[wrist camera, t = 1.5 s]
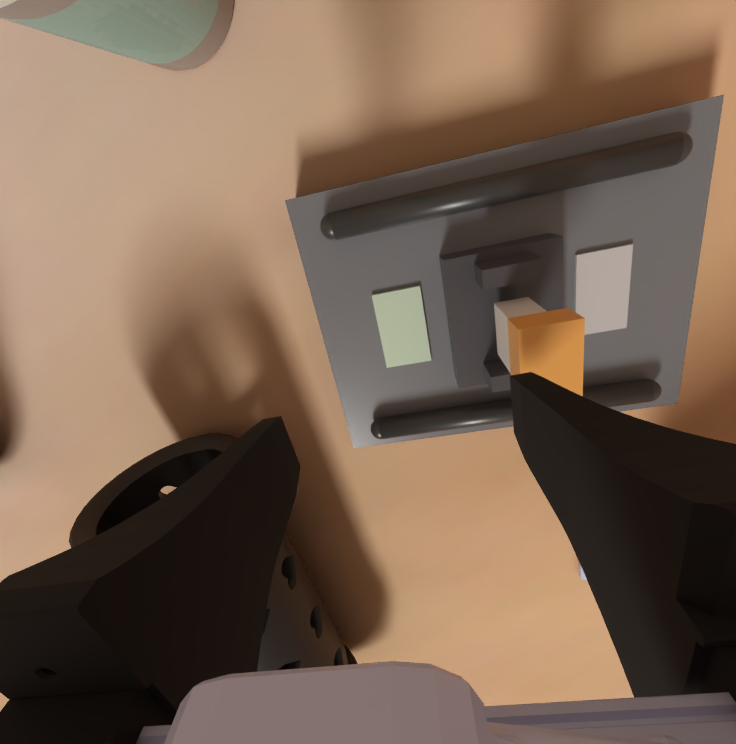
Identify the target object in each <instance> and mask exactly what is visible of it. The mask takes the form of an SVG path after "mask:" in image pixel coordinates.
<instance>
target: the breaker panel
mask: <svg viewBox="0 0 736 744" xmlns="http://www.w3.org/2000/svg"><path fill="white" fill-rule="evenodd" d="M723 96H724V95H720V96H716V97H712V98H708V99H704V100H700V101H695V102H691V103H687V104H683V105H679V106H675V107H671V108H666V109H662V110H658V111H654V112H650V113H646V114H642V115H637V116H633V117H629V118H625V119H621V120H617V121H613V122H608V123H604V124H600V125H596V126H592V127H588V128H584V129H579V130H575V131H571V132H567V133H563V134H559V135H555V136H550V137H546V138H542V139H538V140H534V141H530V142H526V143H521V144H517V145H513V146H509V147H505V148H501V149H497V150H492V151H488V152H484V153H480V154H476V155H472V156H468V157H463V158H459V159H455V160H451V161H447V162H443V163H439V164H434V165H430V166H426V167H422V168H418V169H414V170H410V171H405V172H401V173H397V174H393V175H389V176H385V177H381V178H376V179H372V180H368V181H364V182H360V183H356V184H352V185H347V186H343V187H339V188H335V189H331V190H327V191H323V192H318V193H314V194H310V195H306V196H302V197H298V198H293V199H289V200H285V202H286V205H287V209H288V213H289V216H290V220H291V223H292V227H293V231H294V234H295V238H296V242H297V245H298V249H299V252H300V256H301V260H302V263H303V267H304V270H305V274H306V278H307V281H308V285H309V288H310V292H311V296H312V299H313V303H314V307H315V310H316V314H317V317H318V321H319V325H320V328H321V332H322V335H323V339H324V343H325V346H326V350H327V354H328V357H329V361H330V364H331V368H332V372H333V375H334V379H335V382H336V386H337V390H338V393H339V397H340V400H341V404H342V408H343V411H344V415H345V419H346V422H347V426H348V429H349V433H350V437H351V440H352V444H353V447H354V448H359V447H366V446H373V445H381V444H388V443H395V442H402V441H410V440H417V439H424V438H431V437H439V436H446V435H453V434H460V433H467V432H475V431H482V430H489V429H496V428H504V427H511V426H513V413H512V400H511V387H510V376H511V374H510V372H509V371H508V369H507V368H506V366H505V364H504V363H503V361H502V360H501V358H500V357H499V355H498V351H497V338H496V324H495V311H494V303H497V302H502V301H508V300H513V299H519V298H524V297H529V298H530V299H531V300H533V301H534V302H535V303H537V304H538V305H539V306H541V307H542V308H543V309H545V310H546V311H552V310H558V309H564V308H570V309H571V310H573V311H574V312H576V313H578V314H579V315H581V316H582V317H584V318H585V332H584V366H583V397H585V398H587V399H589V400H592V401H594V402H596V403H599V404H601V405H603V406H606V407H608V408H611V409H613V410H616V411H618V412H619V411H627V410H634V409H641V408H648V407H656V406H663V405H670V404H677V403H678V397H679V391H680V384H681V377H682V370H683V364H684V357H685V350H686V344H687V337H688V330H689V324H690V317H691V310H692V304H693V297H694V290H695V284H696V277H697V270H698V264H699V257H700V250H701V244H702V237H703V230H704V223H705V217H706V210H707V203H708V197H709V190H710V183H711V177H712V170H713V163H714V157H715V150H716V143H717V137H718V130H719V123H720V117H721V110H722V103H723Z"/></svg>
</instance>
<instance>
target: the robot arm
mask: <svg viewBox="0 0 736 744" xmlns="http://www.w3.org/2000/svg"><path fill="white" fill-rule="evenodd" d="M510 387H511V400H512V413H513V426H514V433H515V436H516V439H517V441H518V444H519V446H520V449H521V451H522V454H523V456H524V458H525V461H526V462H527V464H528V466H529V468H530V470H531V471H532V473H533V475H534V477H535V478H536V480H537V482H538V484H539V486H540V487H541V489H542V491H543V492H544V494H545V496H546V498H547V499H548V501H549V503H550V505H551V506H552V508H553V510H554V512H555V513H556V515H557V517H558V519H559V520H560V522H561V524H562V526H563V528H564V530H565V532H566V534H567V536H568V538H569V540H570V542H571V544H572V546H573V549H574V551H575V553H576V556H577V558H578V560H579V575H580V577H581V579H582V580H585V581H588V583H589V585H590V588H591V590H592V593H593V595H594V597H595V600H596V602H597V604H598V607H599V609H600V611H601V614H602V616H603V619H604V621H605V624H606V626H607V629H608V631H609V634H610V636H611V639H612V641H613V644H614V646H615V649H616V651H617V654H618V656H619V659H620V661H621V664H622V666H623V669H624V672H625V674H626V677H627V679H628V682H629V685H630V687H631V690H632V692H633V695H634V698H620V699H603V700H586V701H569V702H552V703H535V704H518V705H501V706H484V703H483V702H482V701H481V699H480V698H479V697H478V695H477V694H476V693H475V691H474V690H473V689H472V687H471V686H470V685H469V683H468V682H466V681H465V680H464V679H463V678H462V677H461V676H458V675H456V674H453V673H451V672H449V671H446V670H444V669H441V668H439V667H437V666H434V665H432V664H424V663H410V662H396V661H390V662H377V663H364V664H351V665H338V666H325V667H313V668H300V669H287V670H274V671H261V672H257V668H258V661H259V653H260V646H261V639H262V633H263V627H264V621H265V614H266V608H267V603H268V597H269V592H270V587H271V582H272V576H273V572H274V568H275V564H276V560H277V556H278V553H279V550H280V546H281V543H282V540H283V536H284V533H285V530H286V527H287V523H288V520H289V517H290V513H291V510H292V506H293V503H294V500H295V496H296V492H297V485H298V479H299V471H300V464H299V461H298V459H297V456H296V454H295V451H294V448H293V446H292V443H291V441H290V438H289V436H288V433H287V430H286V428H285V425H284V423H283V420H282V418H281V416H280V417H274V418H269V419H263V420H262V421H260V422H259V423H257V424H256V425H255V426H253V427H252V428H251V429H250V430H248V431H247V432H246V433H245V434H244V435H242V436H241V437H240V438H239V439H238V440H237V441H235V442H234V443H233V444H232V445H231V446H230V447H228V448H227V449H226V450H225V451H224V452H222V453H221V454H220V455H219V456H218V457H216V458H215V459H214V460H213V461H211V462H210V463H209V464H208V465H206V466H205V467H204V468H203V469H201V470H200V471H199V472H197V473H196V474H195V475H194V476H192V477H191V478H190V479H188V480H187V481H186V482H184V483H183V484H182V485H180V486H179V487H177V488H176V489H174V490H173V491H172V492H170V493H169V494H167V495H166V496H164V497H163V498H161V499H160V500H158V501H157V502H155V503H153V504H152V505H150V506H148V507H147V508H145V509H143V510H142V511H140V512H138V513H137V514H135V515H133V516H131V517H130V518H128V519H126V520H125V521H123V522H121V523H120V524H118V525H116V526H114V527H112V528H110V529H109V530H107V531H105V532H103V533H101V534H99V535H97V536H95V537H93V538H91V539H89V540H87V541H85V542H83V543H81V544H79V545H77V546H75V547H73V548H71V549H69V550H67V551H65V552H62V553H60V554H58V555H56V556H53V557H51V558H49V559H47V560H44V561H42V562H40V563H37V564H35V565H33V566H31V567H28V568H26V569H24V570H22V571H19V572H17V573H14V574H12V575H9V576H8V577H7V578H5V579H4V580H3V581H2V582H1V583H0V692H1V693H2V694H3V695H4V696H6V697H7V698H8V699H10V700H9V701H8V702H7V704H6V705H5V706H4V708H3V709H2V710H1V712H0V744H736V444H732V443H728V442H723V441H718V440H714V439H709V438H705V437H701V436H697V435H693V434H689V433H685V432H681V431H677V430H674V429H670V428H667V427H663V426H660V425H657V424H654V423H650V422H647V421H644V420H641V419H638V418H635V417H632V416H629V415H626V414H624V413H621V412H618V411H616V410H613V409H611V408H608V407H606V406H603V405H601V404H599V403H596V402H594V401H592V400H589V399H587V398H585V397H583V396H580V395H578V394H576V393H574V392H572V391H570V390H568V389H566V388H564V387H562V386H560V385H558V384H556V383H554V382H552V381H550V380H548V379H546V378H544V377H541V376H539V375H537V374H535V373H532V372H528V373H522V374H516V375H511V376H510Z"/></svg>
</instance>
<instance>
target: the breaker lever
mask: <svg viewBox="0 0 736 744" xmlns="http://www.w3.org/2000/svg"><path fill="white" fill-rule="evenodd" d="M494 311H495V324H496V338H497V351H498V355H499V357H500V358H501V360H502V361H503V363H504V364H505V366H506V368H507V369H508V371H509V372H510V374H511V375H516V374H522V373H528V372H532V373H535V374H537V375H539V376H541V377H544V378H546V379H548V380H550V381H552V382H554V383H556V384H558V385H560V386H562V387H564V388H566V389H568V390H570V391H572V392H574V393H576V394H578V395H580V396H583V366H584V332H585V318H584V317H582V316H581V315H579V314H578V313H576V312H574V311H573V310H571V309H570V308H564V309H558V310H552V311H546V310H545V309H543V308H542V307H541V306H539V305H538V304H537V303H535V302H534V301H533V300H531V299H530V298H529V297H524V298H519V299H513V300H508V301H502V302H497V303H494Z"/></svg>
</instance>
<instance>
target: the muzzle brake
mask: <svg viewBox="0 0 736 744" xmlns="http://www.w3.org/2000/svg"><path fill="white" fill-rule="evenodd" d="M237 440H238V439H237V438H235V437H233V436H231V435H225V434H207V435H202V436H198V437H193V438H189V439H185V440H182V441H179V442H177V443H174V444H171V445H169V446H167V447H165V448H162V449H160V450H158V451H156V452H154V453H153V454H151V455H149V456H147V457H145V458H143V459H142V460H140V461H138V462H137V463H135V464H134V465H132V466H131V467H129V468H128V469H126V470H125V471H123V472H122V473H121V474H119V475H118V476H117V477H115V478H114V479H113V480H112V481H110V482H109V483H108V484H106V485H105V486H104V487H103V488H102V489H101V490H100V491H99V492H98V493H97V494H96V495H95V496H94V497H93V498H92V499H91V500H90V501H89V502H88V504H87V505H86V506H85V507H84V508H83V510H82V511H81V513H80V514H79V515H78V517H77V519H76V521H75V523H74V525H73V527H72V529H71V531H70V538H69V542H70V545H71V548H73V547H75V546H77V545H79V544H81V543H83V542H85V541H87V540H89V539H91V538H93V537H95V536H97V535H99V534H101V533H103V532H105V531H107V530H109V529H110V528H112V527H114V526H116V525H118V524H120V523H121V522H123V521H125V520H126V519H128V518H130V517H131V516H133V515H135V514H137V513H138V512H140V511H142V510H143V509H145V508H147V507H148V506H150V505H152V504H153V503H155V502H157V501H158V500H160V499H161V498H163V497H164V496H166V494H164V493H162V492H161V491H160V490H161V489H162V488H163V487H165V486H173V487H179V486H180V485H182V484H183V483H184V482H186V481H187V480H188V479H190V478H191V477H192V476H194V475H195V474H196V473H197V472H199V471H200V470H201V469H203V468H204V467H205V466H206V465H208V464H209V463H210V462H211V461H213V460H214V459H215V458H216V457H218V456H219V455H220V454H221V453H222V452H224V451H225V450H226V449H227V448H228V447H230V446H231V445H232V444H233V443H234V442H235V441H237ZM351 664H358V663H357V661H356V659H355V657H354V656H353V654H352V653H351V651H350V650H349V649H348V648H347V647H346V646H345V645H344V644H343V642H342V640H341V638H340V636H339V634H338V632H337V630H336V628H335V626H334V624H333V622H332V620H331V618H330V616H329V614H328V613H327V611H326V609H325V607H324V605H323V603H322V601H321V599H320V597H319V595H318V593H317V591H316V589H315V587H314V585H313V583H312V581H311V579H310V577H309V575H308V573H307V571H306V569H305V568H304V566H303V564H302V562H301V560H300V558H299V556H298V554H297V552H296V550H295V548H294V546H293V544H292V542H291V540H290V538H289V536H288V534H287V532H286V530H285V533H284V536H283V540H282V543H281V546H280V550H279V553H278V556H277V560H276V564H275V568H274V572H273V576H272V582H271V587H270V592H269V597H268V603H267V608H266V614H265V621H264V627H263V633H262V639H261V646H260V653H259V661H258V668H257V672H261V671H274V670H287V669H300V668H313V667H325V666H338V665H351Z"/></svg>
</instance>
